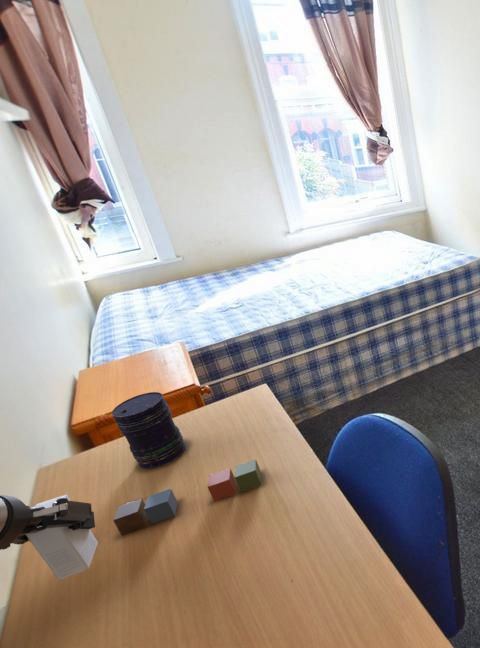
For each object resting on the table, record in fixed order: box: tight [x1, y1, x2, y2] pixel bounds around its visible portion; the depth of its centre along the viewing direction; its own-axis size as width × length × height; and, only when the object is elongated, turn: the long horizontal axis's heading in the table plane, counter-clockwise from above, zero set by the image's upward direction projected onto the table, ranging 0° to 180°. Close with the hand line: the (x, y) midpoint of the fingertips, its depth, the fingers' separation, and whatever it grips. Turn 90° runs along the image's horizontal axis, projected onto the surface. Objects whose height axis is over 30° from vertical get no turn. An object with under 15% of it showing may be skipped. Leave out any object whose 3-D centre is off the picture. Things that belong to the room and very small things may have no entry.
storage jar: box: [111, 391, 187, 470], centre depth 110 cm, size 10×10×15 cm
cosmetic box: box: [25, 494, 99, 581], centre depth 78 cm, size 6×4×12 cm
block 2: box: [144, 488, 179, 525], centre depth 95 cm, size 4×4×4 cm
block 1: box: [112, 497, 149, 536], centre depth 93 cm, size 4×4×4 cm
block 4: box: [234, 459, 262, 493], centre depth 101 cm, size 4×4×4 cm
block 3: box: [207, 467, 237, 502], centre depth 99 cm, size 4×4×4 cm
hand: (74, 526), depth 81 cm, fingers closed on cosmetic box, 4 cm apart
